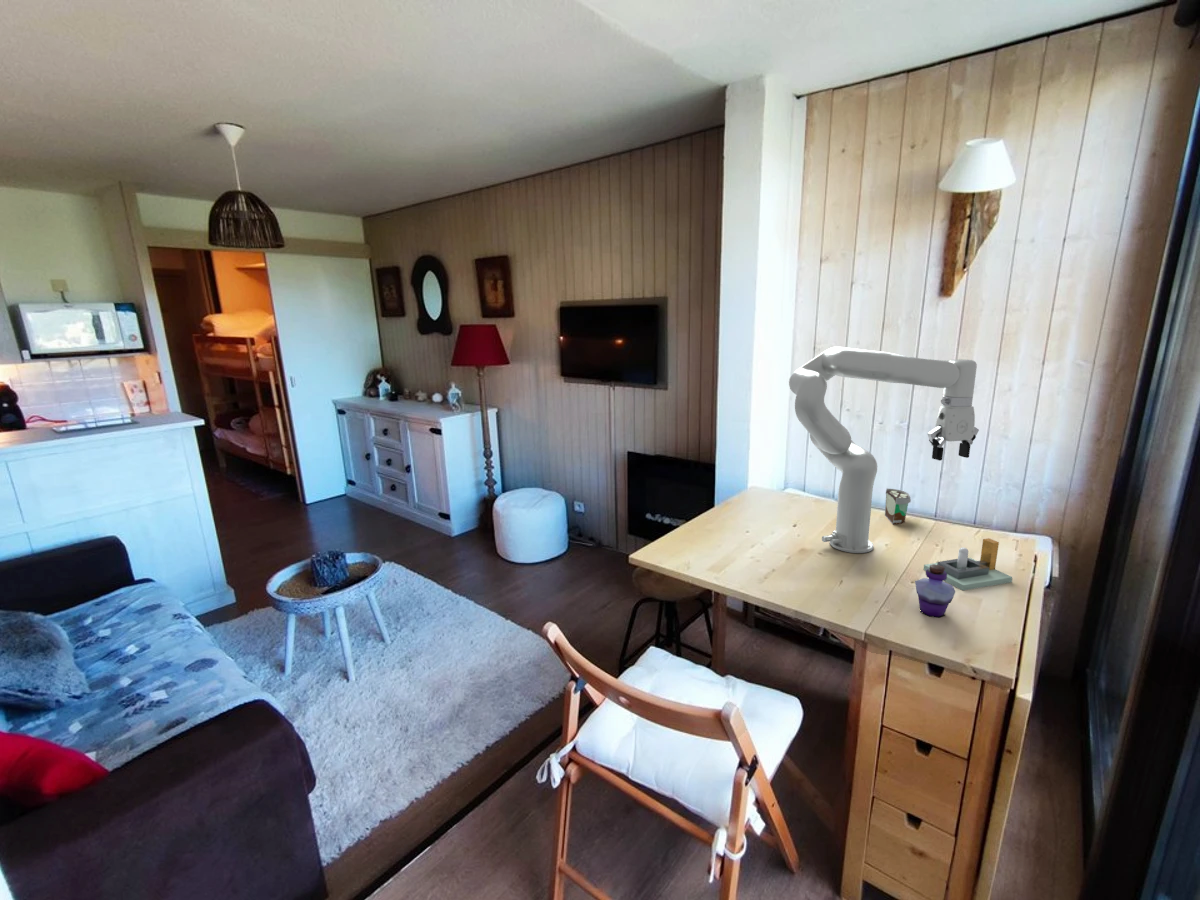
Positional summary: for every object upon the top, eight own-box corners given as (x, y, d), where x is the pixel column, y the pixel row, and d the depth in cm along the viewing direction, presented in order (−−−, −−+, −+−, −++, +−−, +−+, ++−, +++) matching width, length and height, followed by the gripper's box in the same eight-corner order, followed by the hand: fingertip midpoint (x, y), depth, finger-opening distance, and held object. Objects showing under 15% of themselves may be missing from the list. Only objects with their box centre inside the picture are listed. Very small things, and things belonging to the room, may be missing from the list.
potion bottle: (937, 602, 138) (943, 558, 136) (960, 620, 130) (967, 573, 127) (904, 603, 138) (908, 559, 136) (925, 622, 130) (930, 575, 127)
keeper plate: (962, 590, 144) (966, 560, 142) (923, 569, 156) (926, 541, 154) (1011, 582, 147) (1016, 552, 145) (969, 562, 160) (973, 534, 158)
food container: (913, 527, 187) (916, 499, 185) (894, 526, 189) (896, 498, 186) (901, 514, 199) (904, 488, 197) (883, 514, 200) (886, 487, 198)
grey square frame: (958, 579, 147) (961, 551, 145) (936, 568, 153) (939, 541, 151) (1001, 572, 150) (1005, 545, 148) (978, 561, 157) (982, 535, 155)
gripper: (943, 405, 156) (936, 463, 160) (992, 401, 160) (984, 458, 164) (922, 402, 163) (916, 457, 167) (969, 398, 167) (963, 453, 171)
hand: (950, 458), depth 166 cm, fingers open, 9 cm apart
